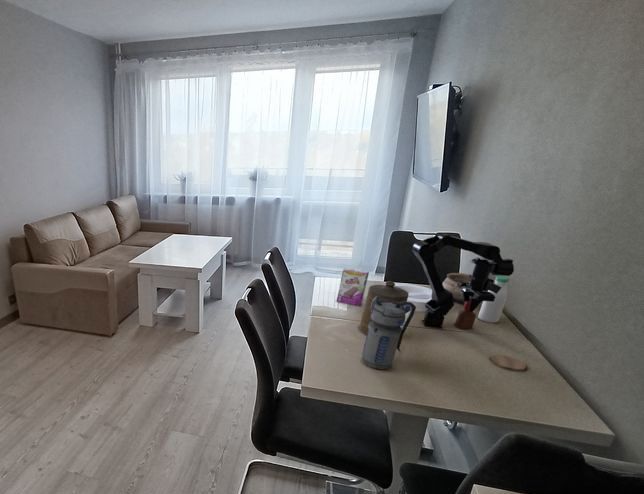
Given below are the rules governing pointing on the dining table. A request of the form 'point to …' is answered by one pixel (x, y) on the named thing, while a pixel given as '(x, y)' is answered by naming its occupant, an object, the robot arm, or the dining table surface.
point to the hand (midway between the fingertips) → (469, 309)
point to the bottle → (465, 319)
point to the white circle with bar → (416, 295)
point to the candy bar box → (352, 286)
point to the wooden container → (384, 294)
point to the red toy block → (467, 305)
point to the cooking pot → (452, 282)
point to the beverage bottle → (385, 332)
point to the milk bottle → (495, 302)
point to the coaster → (508, 363)
